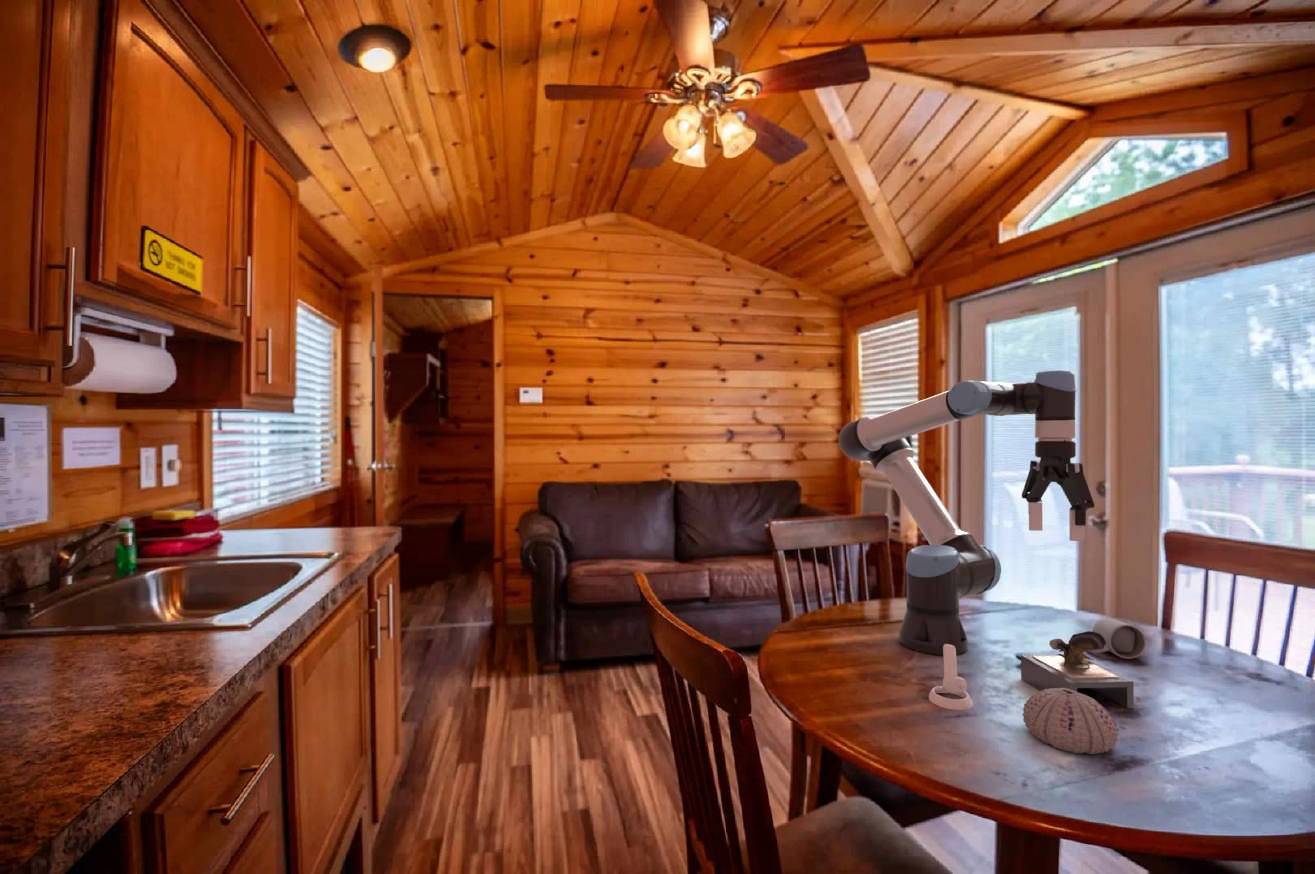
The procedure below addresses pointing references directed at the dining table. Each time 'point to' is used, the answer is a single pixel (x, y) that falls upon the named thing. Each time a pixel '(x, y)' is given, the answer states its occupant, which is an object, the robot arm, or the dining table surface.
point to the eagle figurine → (1078, 646)
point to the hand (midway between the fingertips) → (1055, 535)
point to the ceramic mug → (1120, 638)
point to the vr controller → (951, 684)
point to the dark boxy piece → (1076, 677)
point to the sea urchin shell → (1070, 721)
